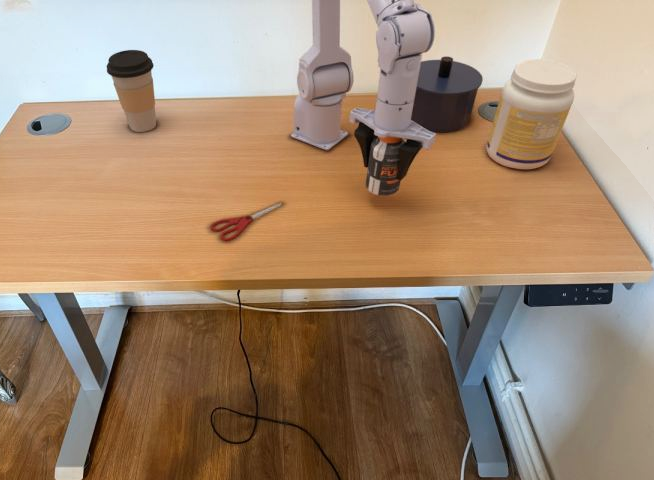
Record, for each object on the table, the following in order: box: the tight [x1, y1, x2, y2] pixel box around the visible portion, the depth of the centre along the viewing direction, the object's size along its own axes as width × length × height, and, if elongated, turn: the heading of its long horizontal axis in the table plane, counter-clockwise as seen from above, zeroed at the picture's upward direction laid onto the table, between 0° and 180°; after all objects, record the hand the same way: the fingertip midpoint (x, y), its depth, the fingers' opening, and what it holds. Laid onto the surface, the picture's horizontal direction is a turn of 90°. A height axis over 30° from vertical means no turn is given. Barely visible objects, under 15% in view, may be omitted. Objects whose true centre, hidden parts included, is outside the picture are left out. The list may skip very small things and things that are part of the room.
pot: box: [411, 88, 479, 134], centre depth 115 cm, size 15×15×8 cm
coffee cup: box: [106, 49, 157, 133], centre depth 113 cm, size 9×9×15 cm
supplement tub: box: [485, 58, 578, 170], centre depth 100 cm, size 12×12×17 cm
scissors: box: [210, 202, 282, 242], centre depth 94 cm, size 5×14×1 cm, turn 126°
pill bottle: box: [365, 136, 406, 197], centre depth 91 cm, size 6×6×11 cm
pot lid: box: [416, 56, 484, 95], centre depth 110 cm, size 16×16×5 cm
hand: (384, 170), depth 92 cm, fingers closed on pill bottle, 6 cm apart
